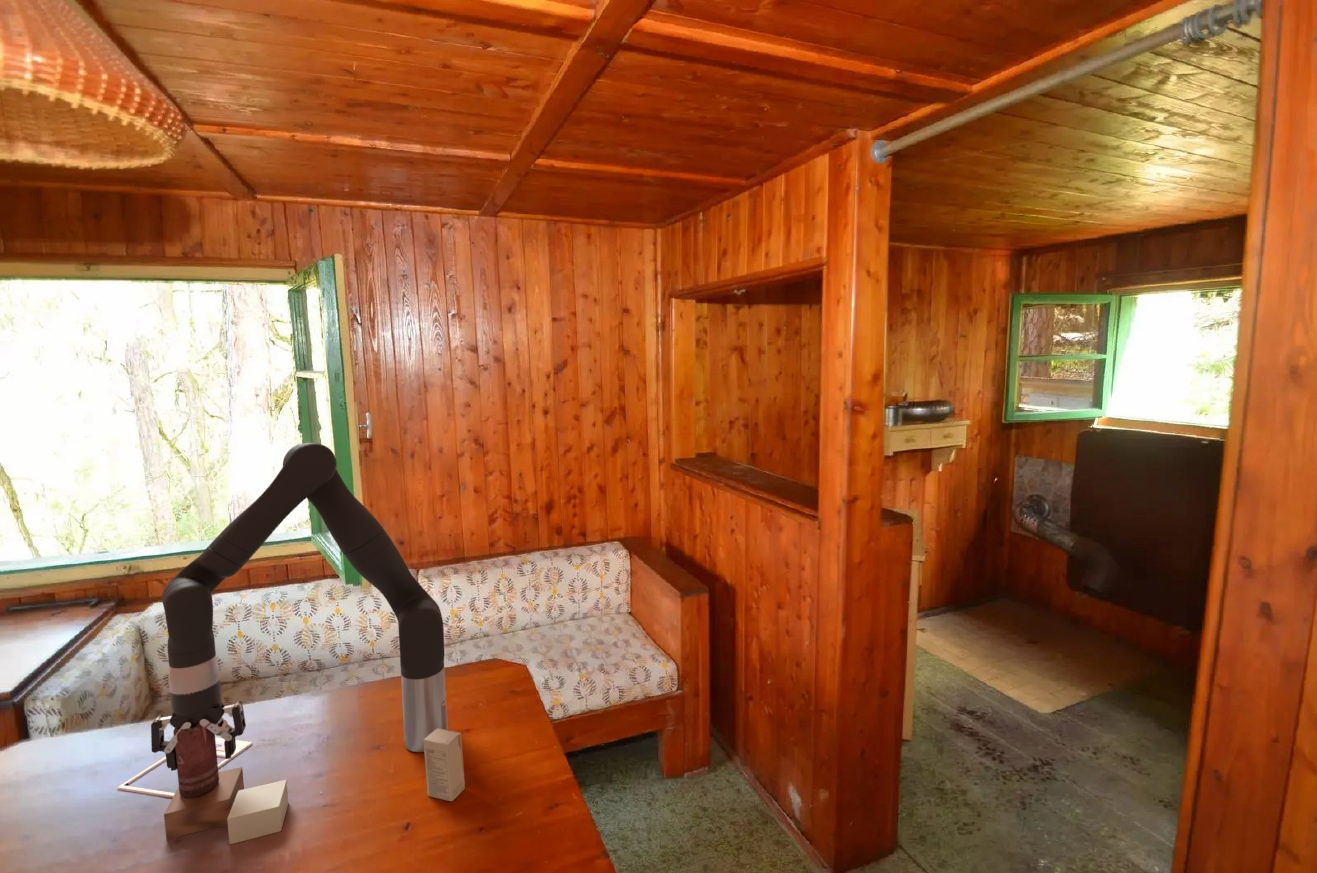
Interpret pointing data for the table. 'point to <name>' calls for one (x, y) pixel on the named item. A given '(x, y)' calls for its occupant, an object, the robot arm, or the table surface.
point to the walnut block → (203, 806)
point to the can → (196, 761)
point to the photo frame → (219, 749)
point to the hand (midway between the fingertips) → (202, 762)
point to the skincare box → (444, 764)
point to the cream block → (258, 811)
